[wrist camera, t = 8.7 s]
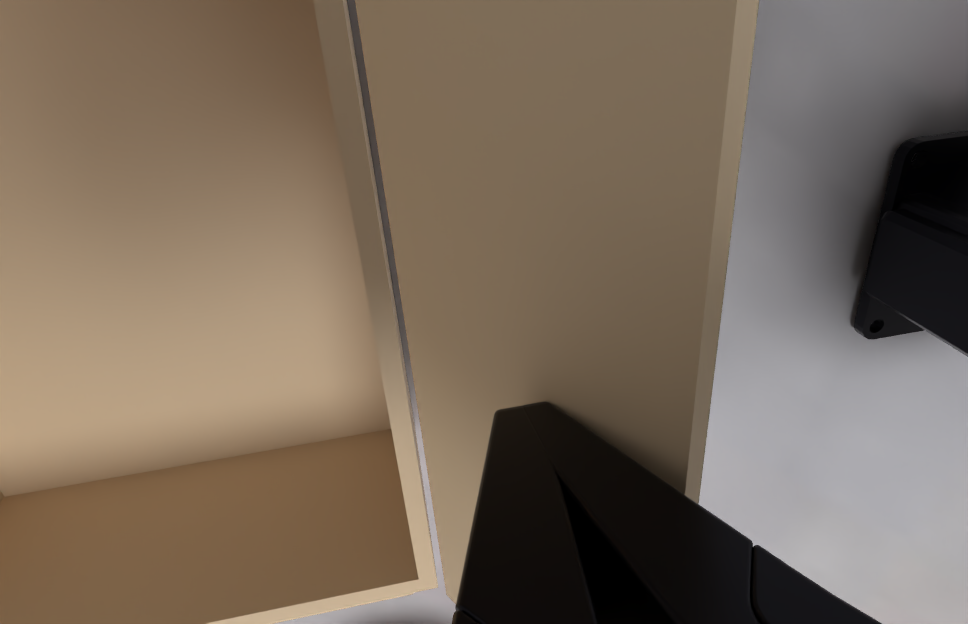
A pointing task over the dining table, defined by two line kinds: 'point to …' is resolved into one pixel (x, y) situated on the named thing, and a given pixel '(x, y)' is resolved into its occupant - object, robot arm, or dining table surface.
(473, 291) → the flap
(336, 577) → the carton
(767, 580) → the robot arm
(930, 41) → the dining table surface
